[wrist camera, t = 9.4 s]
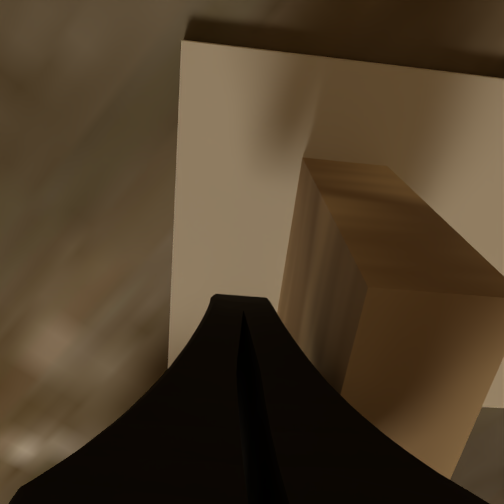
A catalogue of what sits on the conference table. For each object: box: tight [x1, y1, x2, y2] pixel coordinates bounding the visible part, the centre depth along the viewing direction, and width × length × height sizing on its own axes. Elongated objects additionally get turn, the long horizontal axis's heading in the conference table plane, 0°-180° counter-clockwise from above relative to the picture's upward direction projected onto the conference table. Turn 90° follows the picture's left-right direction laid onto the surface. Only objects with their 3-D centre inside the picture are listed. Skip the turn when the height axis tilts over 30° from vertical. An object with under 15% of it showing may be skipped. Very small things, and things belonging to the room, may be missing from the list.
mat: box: [168, 40, 504, 408], centre depth 16 cm, size 14×12×1 cm
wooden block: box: [277, 158, 504, 480], centre depth 12 cm, size 3×6×8 cm, turn 174°
